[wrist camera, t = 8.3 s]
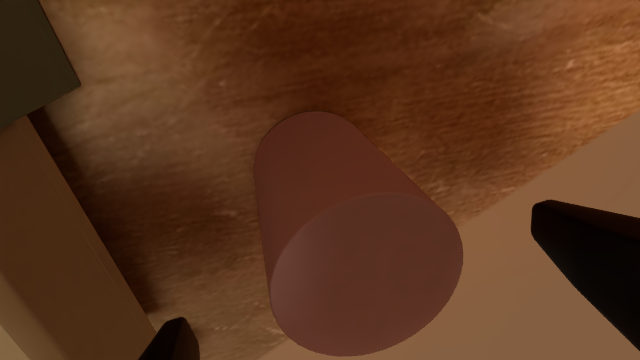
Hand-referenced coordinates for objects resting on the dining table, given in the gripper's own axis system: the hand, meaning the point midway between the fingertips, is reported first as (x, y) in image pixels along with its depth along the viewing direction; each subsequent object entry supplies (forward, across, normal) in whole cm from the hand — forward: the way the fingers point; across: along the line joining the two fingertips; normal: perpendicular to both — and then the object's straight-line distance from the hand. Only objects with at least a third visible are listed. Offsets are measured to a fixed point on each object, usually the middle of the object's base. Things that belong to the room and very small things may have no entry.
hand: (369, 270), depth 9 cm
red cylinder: (+7, 0, 0) cm, 7 cm away
